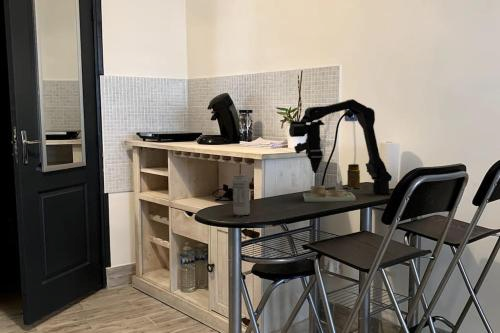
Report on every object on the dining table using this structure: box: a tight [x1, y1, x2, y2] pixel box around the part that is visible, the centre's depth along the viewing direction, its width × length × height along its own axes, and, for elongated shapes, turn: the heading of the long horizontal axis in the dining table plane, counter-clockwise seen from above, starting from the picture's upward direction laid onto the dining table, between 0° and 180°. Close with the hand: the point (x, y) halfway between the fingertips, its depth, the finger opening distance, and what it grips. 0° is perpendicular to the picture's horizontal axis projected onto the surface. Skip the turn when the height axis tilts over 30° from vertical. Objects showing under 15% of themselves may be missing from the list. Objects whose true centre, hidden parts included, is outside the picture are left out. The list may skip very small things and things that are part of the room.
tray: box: [303, 191, 356, 203], centre depth 218 cm, size 21×14×2 cm
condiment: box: [346, 163, 361, 188], centre depth 250 cm, size 7×8×12 cm
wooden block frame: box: [310, 185, 348, 198], centre depth 217 cm, size 15×9×5 cm, turn 86°
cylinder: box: [334, 180, 343, 190], centre depth 231 cm, size 3×3×6 cm
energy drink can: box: [232, 173, 251, 216], centre depth 185 cm, size 6×6×15 cm
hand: (314, 172), depth 218 cm, fingers open, 9 cm apart
